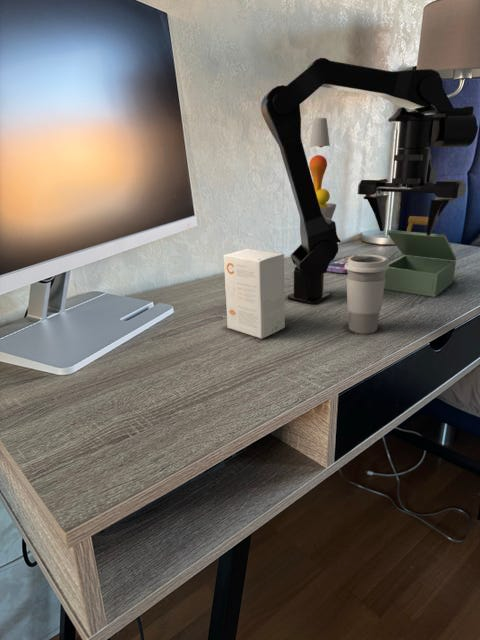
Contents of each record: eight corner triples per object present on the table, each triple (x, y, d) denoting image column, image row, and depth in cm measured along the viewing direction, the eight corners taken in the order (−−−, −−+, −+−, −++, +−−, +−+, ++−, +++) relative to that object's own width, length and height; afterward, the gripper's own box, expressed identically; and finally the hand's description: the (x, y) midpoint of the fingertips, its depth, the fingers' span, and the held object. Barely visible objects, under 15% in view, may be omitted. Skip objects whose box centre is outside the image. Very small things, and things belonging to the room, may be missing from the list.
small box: (285, 328, 76) (285, 253, 72) (261, 339, 72) (259, 261, 67) (250, 317, 81) (248, 247, 77) (226, 328, 77) (222, 254, 73)
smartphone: (318, 270, 110) (348, 258, 121) (345, 274, 106) (374, 261, 116) (318, 266, 110) (348, 255, 120) (345, 270, 105) (374, 258, 115)
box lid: (444, 237, 85) (450, 214, 85) (386, 232, 92) (392, 211, 92) (455, 260, 95) (461, 240, 96) (403, 254, 102) (408, 235, 102)
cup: (364, 318, 79) (369, 251, 75) (393, 330, 74) (399, 259, 69) (333, 326, 76) (335, 257, 72) (360, 339, 71) (364, 266, 66)
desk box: (434, 297, 88) (437, 274, 87) (379, 288, 95) (381, 266, 93) (453, 282, 97) (456, 261, 95) (401, 274, 104) (403, 255, 102)
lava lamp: (292, 262, 119) (293, 119, 106) (318, 257, 123) (321, 119, 110) (315, 269, 111) (318, 116, 99) (341, 263, 116) (348, 116, 103)
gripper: (479, 146, 82) (466, 231, 88) (382, 148, 93) (376, 223, 99) (463, 147, 74) (450, 240, 80) (359, 150, 85) (353, 231, 91)
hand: (404, 233), depth 88 cm, fingers open, 9 cm apart
